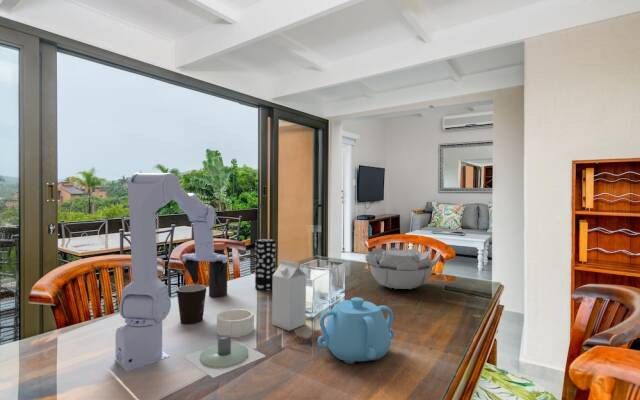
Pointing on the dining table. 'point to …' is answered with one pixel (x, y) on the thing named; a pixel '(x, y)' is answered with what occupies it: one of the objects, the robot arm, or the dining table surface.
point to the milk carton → (289, 296)
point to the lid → (223, 353)
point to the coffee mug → (191, 303)
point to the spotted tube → (264, 263)
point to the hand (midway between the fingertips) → (206, 282)
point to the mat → (215, 372)
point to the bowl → (235, 322)
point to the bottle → (213, 288)
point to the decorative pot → (357, 330)
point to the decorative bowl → (400, 267)
